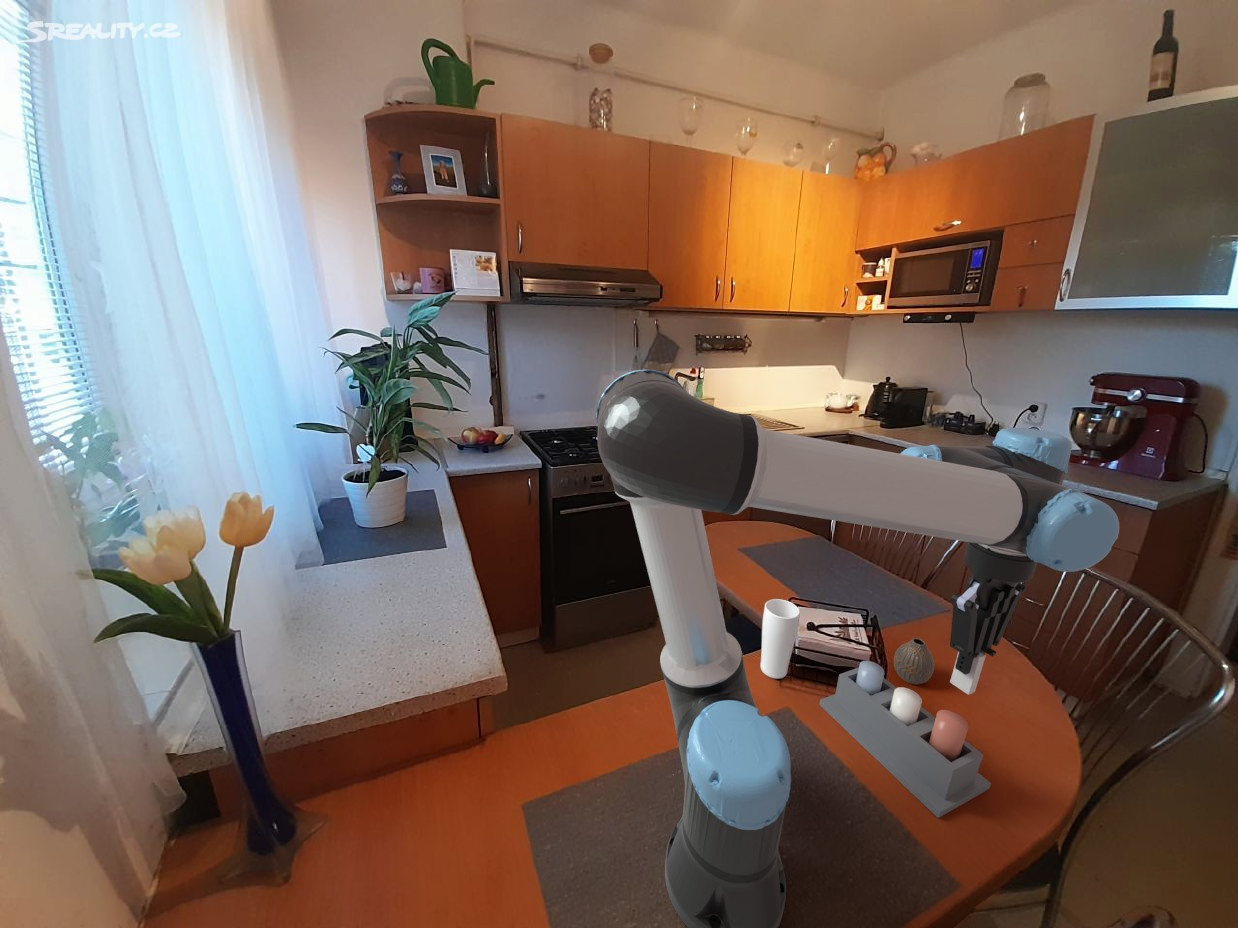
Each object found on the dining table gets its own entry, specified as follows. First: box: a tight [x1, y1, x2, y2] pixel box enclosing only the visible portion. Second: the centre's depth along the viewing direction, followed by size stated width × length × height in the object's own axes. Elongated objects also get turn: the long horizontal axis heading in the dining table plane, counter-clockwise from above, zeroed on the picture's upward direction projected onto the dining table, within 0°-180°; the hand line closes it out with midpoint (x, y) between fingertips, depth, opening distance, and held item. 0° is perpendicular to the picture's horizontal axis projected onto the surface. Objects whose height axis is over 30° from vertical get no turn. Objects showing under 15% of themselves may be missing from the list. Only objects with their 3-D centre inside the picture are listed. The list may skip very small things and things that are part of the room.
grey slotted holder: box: [819, 667, 992, 819], centre depth 82 cm, size 12×23×7 cm, turn 23°
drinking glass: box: [759, 598, 801, 680], centre depth 96 cm, size 7×7×15 cm
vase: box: [893, 637, 935, 685], centre depth 96 cm, size 7×7×9 cm
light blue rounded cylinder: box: [856, 660, 885, 696], centre depth 87 cm, size 4×4×7 cm
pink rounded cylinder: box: [929, 709, 969, 762], centre depth 74 cm, size 4×4×7 cm
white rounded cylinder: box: [890, 686, 923, 726], centre depth 81 cm, size 4×4×7 cm
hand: (962, 686), depth 71 cm, fingers closed
